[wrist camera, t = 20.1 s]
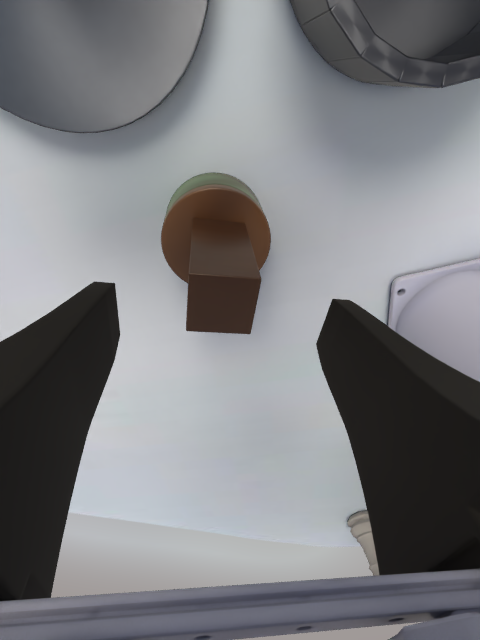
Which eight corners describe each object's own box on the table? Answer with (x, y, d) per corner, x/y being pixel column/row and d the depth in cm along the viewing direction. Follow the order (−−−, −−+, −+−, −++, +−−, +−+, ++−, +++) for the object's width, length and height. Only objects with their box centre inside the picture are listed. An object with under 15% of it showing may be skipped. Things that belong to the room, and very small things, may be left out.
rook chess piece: (353, 509, 42) (381, 586, 36) (384, 509, 43) (416, 584, 36) (341, 524, 45) (364, 598, 38) (370, 523, 45) (397, 596, 39)
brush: (270, 179, 16) (313, 243, 10) (254, 269, 19) (278, 362, 13) (166, 165, 16) (142, 226, 9) (166, 262, 19) (147, 358, 12)
